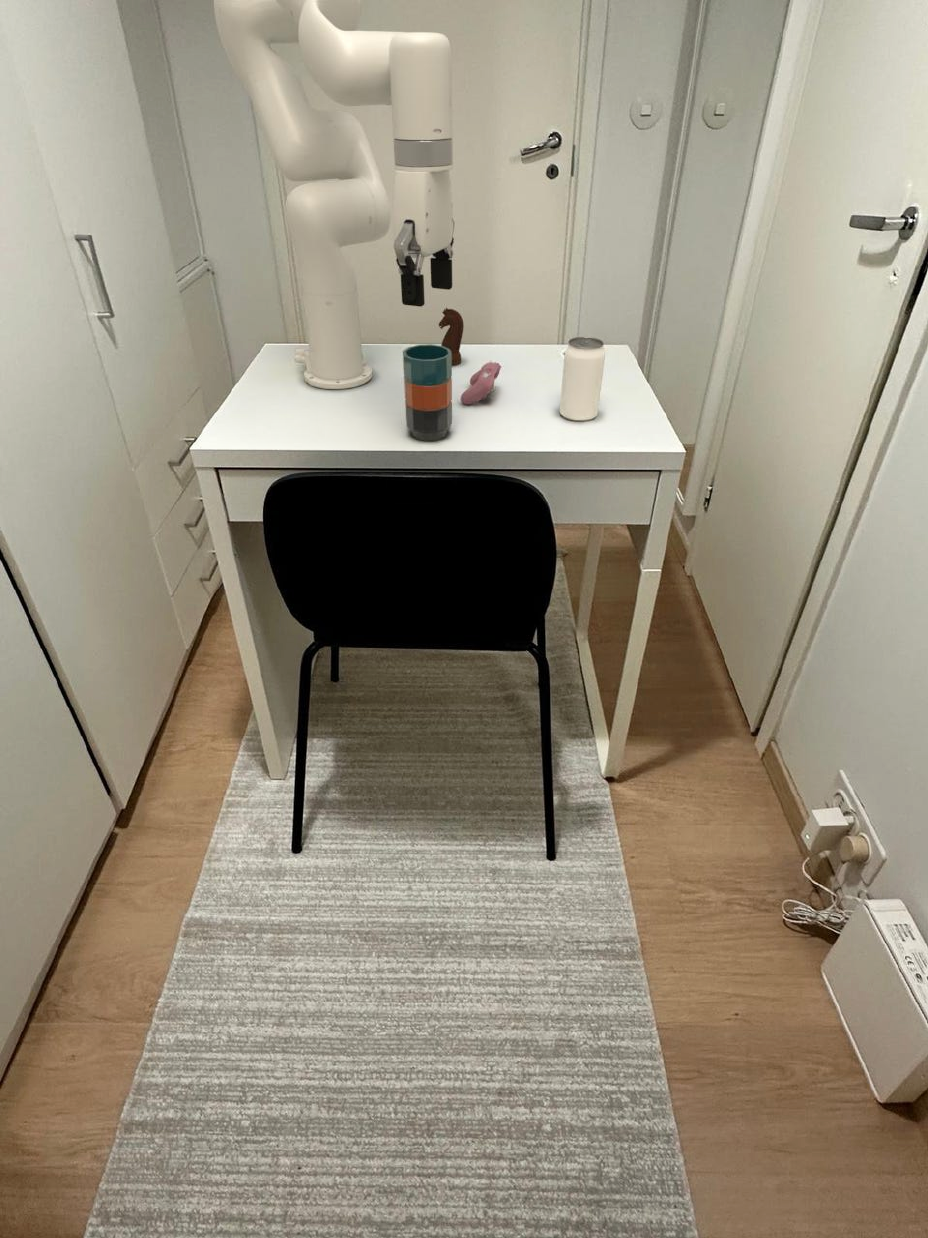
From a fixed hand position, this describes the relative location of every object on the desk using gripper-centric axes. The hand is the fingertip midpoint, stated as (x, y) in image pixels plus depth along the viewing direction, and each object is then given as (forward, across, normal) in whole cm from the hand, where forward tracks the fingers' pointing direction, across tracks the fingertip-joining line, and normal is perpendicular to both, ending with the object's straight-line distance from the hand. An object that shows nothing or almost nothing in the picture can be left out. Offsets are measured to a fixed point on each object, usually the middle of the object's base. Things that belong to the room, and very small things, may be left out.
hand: (428, 296), depth 104 cm
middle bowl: (+17, 0, 0) cm, 17 cm away
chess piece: (+21, -32, -10) cm, 39 cm away
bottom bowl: (+21, 0, 0) cm, 21 cm away
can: (+21, -17, +20) cm, 33 cm away
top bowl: (+13, 0, 0) cm, 13 cm away
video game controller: (+21, -18, +2) cm, 27 cm away
